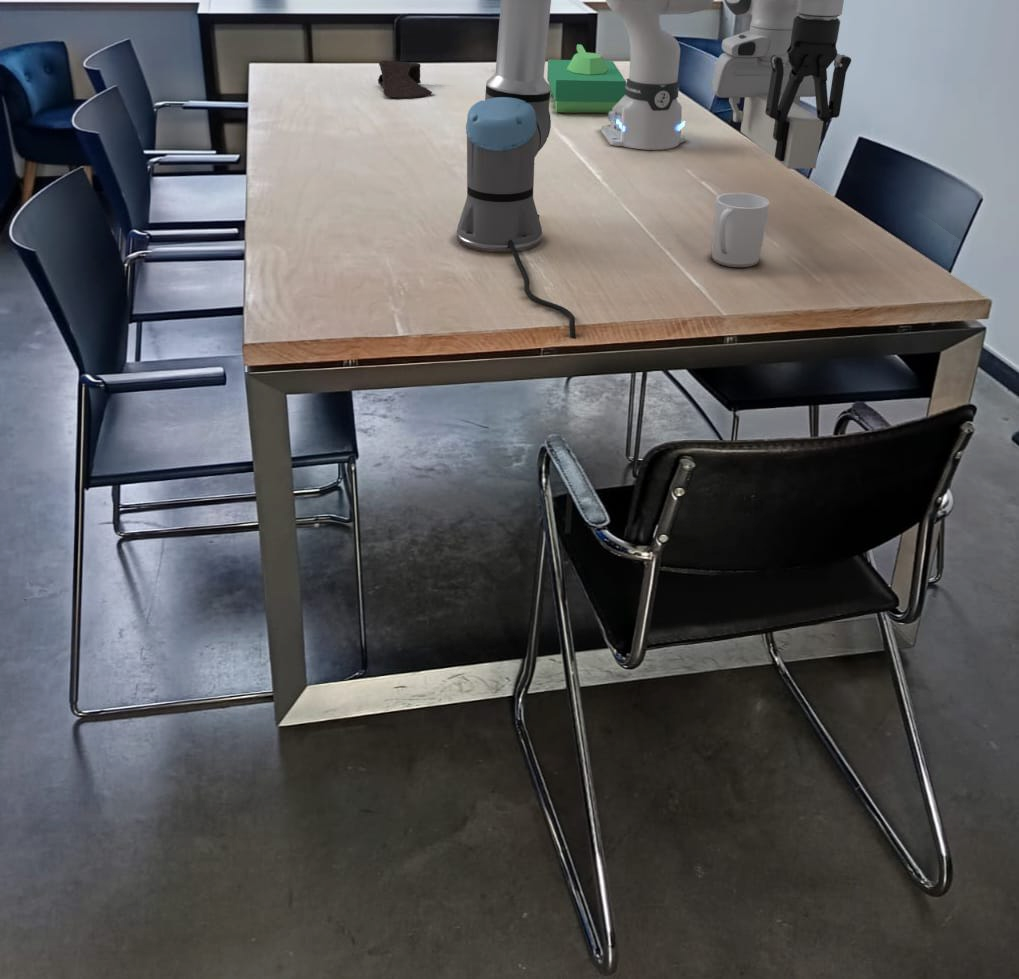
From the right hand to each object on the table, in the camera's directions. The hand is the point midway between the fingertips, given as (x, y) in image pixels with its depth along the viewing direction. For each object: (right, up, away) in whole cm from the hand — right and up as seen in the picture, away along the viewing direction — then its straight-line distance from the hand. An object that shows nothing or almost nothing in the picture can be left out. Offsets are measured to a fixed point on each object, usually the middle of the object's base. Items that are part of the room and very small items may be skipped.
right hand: (761, 121), depth 207 cm
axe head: (-77, +40, +93) cm, 127 cm away
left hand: (+3, -12, -15) cm, 19 cm away
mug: (-9, -31, -18) cm, 37 cm away
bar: (+1, -7, -6) cm, 10 cm away
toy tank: (-28, +35, +87) cm, 98 cm away
